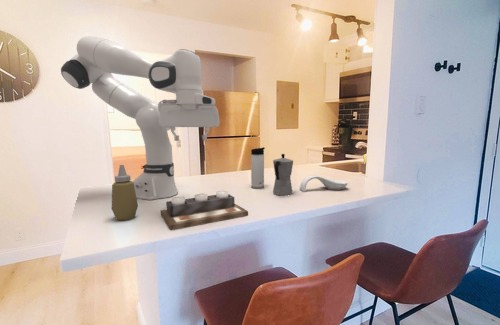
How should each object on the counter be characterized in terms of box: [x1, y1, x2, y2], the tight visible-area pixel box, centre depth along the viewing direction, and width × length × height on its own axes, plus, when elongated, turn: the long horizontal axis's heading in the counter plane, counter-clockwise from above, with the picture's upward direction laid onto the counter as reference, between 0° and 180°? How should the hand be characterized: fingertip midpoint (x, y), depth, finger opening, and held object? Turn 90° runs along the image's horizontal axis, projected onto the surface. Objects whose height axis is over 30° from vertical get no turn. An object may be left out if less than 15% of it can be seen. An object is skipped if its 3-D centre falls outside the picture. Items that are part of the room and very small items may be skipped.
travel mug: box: [250, 147, 266, 190], centre depth 130 cm, size 6×7×20 cm
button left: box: [170, 196, 186, 206], centre depth 89 cm, size 4×4×3 cm
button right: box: [215, 190, 229, 199], centre depth 97 cm, size 4×4×3 cm
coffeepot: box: [272, 153, 294, 197], centre depth 118 cm, size 15×9×18 cm, turn 153°
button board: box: [160, 193, 249, 231], centre depth 91 cm, size 26×16×5 cm, turn 119°
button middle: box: [194, 193, 209, 202], centre depth 93 cm, size 4×4×3 cm
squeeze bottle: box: [111, 164, 139, 221], centre depth 88 cm, size 8×8×18 cm
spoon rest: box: [299, 174, 349, 193], centre depth 127 cm, size 24×12×7 cm, turn 107°
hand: (190, 140), depth 92 cm, fingers open, 8 cm apart
